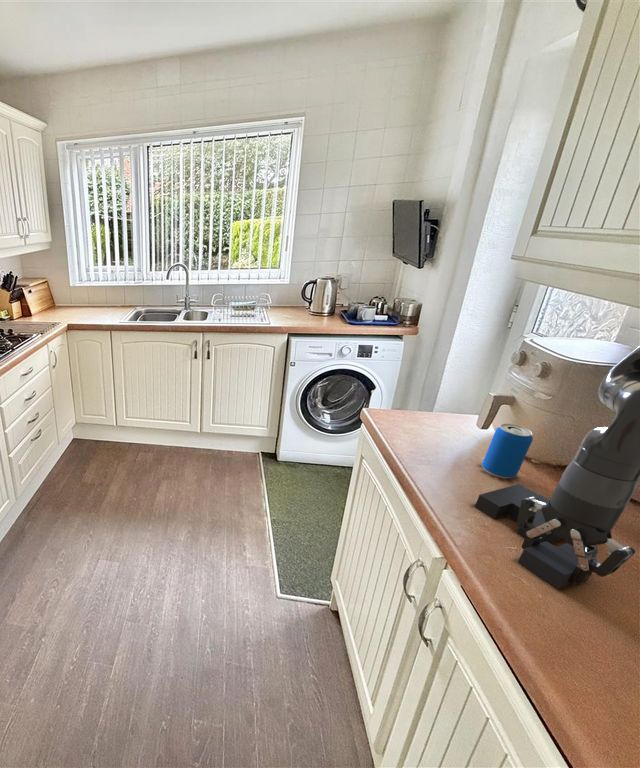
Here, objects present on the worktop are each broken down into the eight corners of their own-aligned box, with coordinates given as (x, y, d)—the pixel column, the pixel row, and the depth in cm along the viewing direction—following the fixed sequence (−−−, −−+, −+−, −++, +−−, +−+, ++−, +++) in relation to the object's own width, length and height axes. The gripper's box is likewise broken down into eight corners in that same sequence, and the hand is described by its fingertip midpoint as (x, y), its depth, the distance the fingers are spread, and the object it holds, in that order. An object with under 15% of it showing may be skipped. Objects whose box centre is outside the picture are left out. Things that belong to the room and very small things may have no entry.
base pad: (513, 495, 90) (518, 483, 89) (581, 532, 80) (589, 520, 78) (474, 506, 87) (479, 494, 86) (540, 547, 76) (547, 534, 75)
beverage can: (509, 468, 99) (528, 425, 94) (520, 483, 94) (540, 439, 89) (477, 462, 102) (493, 420, 97) (485, 476, 96) (503, 433, 92)
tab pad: (551, 549, 76) (558, 536, 75) (593, 574, 71) (601, 561, 69) (517, 561, 73) (523, 548, 72) (557, 589, 68) (565, 575, 67)
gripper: (672, 515, 59) (618, 595, 66) (553, 461, 72) (518, 533, 79) (641, 527, 57) (588, 608, 64) (524, 469, 70) (490, 542, 77)
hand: (550, 566), depth 71 cm, fingers closed on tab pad, 6 cm apart
